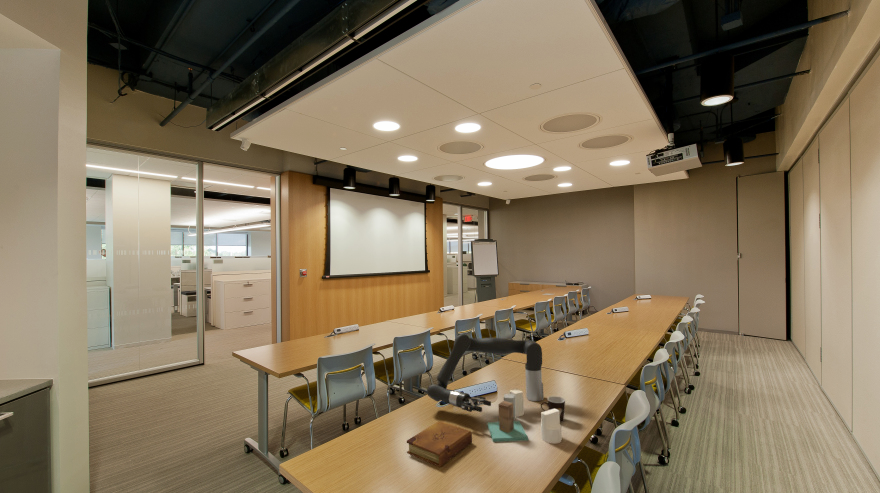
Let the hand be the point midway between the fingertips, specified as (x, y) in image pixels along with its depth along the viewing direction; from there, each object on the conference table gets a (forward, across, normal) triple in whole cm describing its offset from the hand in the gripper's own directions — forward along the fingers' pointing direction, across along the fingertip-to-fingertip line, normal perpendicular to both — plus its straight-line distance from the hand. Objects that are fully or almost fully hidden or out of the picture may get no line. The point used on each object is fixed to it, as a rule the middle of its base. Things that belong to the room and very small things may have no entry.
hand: (486, 406), depth 173 cm
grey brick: (+6, +13, +10) cm, 17 cm away
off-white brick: (+6, +21, +10) cm, 24 cm away
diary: (-7, -29, +10) cm, 31 cm away
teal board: (+11, 0, +10) cm, 14 cm away
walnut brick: (+11, 0, +8) cm, 14 cm away
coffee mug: (+24, +27, +10) cm, 37 cm away
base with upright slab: (+30, +7, +10) cm, 32 cm away
